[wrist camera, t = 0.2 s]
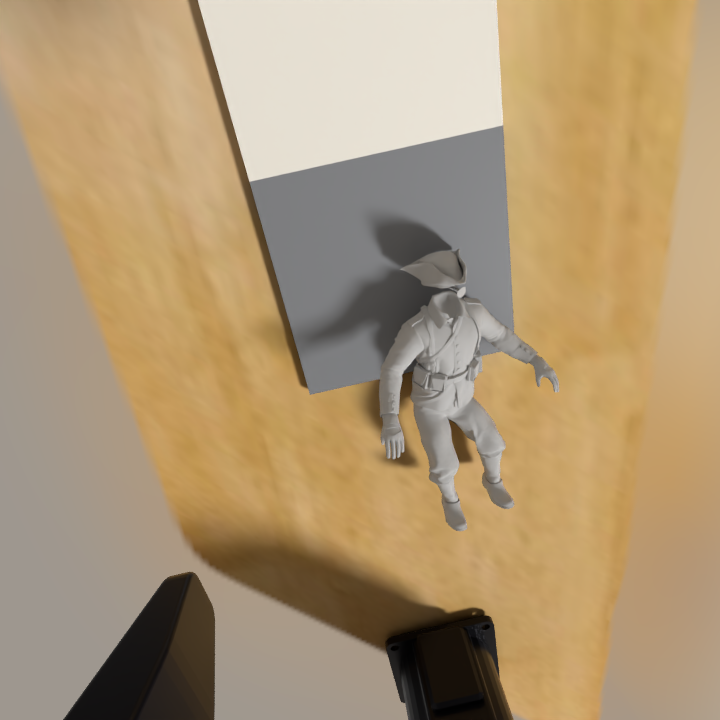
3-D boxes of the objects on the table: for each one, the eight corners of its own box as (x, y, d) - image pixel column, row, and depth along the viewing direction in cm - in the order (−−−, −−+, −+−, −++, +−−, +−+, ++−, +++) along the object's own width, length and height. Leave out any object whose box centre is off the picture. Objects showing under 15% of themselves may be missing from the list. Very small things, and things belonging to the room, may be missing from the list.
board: (511, 343, 24) (515, 348, 23) (309, 389, 24) (309, 394, 23) (479, -229, 15) (483, -236, 14) (154, -159, 15) (151, -164, 14)
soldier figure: (398, 564, 23) (393, 345, 15) (352, 482, 27) (328, 268, 19) (545, 494, 25) (605, 271, 18) (485, 426, 29) (512, 215, 21)
